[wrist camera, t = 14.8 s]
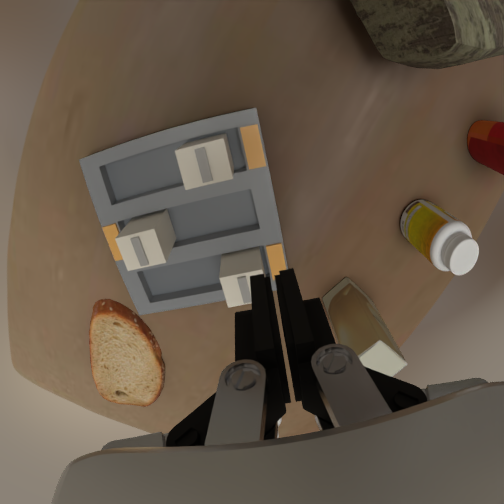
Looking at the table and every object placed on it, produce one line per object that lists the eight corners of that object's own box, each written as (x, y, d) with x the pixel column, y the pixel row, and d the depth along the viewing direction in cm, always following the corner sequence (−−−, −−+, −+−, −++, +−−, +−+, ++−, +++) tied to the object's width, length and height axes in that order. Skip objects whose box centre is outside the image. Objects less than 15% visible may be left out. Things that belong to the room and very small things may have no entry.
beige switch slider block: (185, 142, 29) (173, 151, 24) (226, 132, 29) (223, 138, 23) (194, 175, 30) (184, 191, 25) (234, 166, 30) (233, 179, 25)
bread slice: (110, 287, 37) (100, 304, 34) (205, 368, 44) (203, 388, 41) (51, 344, 42) (42, 359, 38) (133, 406, 48) (129, 422, 45)
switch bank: (90, 155, 30) (77, 160, 27) (254, 107, 29) (256, 107, 26) (144, 302, 38) (138, 316, 35) (287, 274, 37) (291, 288, 34)
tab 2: (221, 251, 34) (219, 279, 29) (258, 244, 34) (262, 270, 28) (229, 278, 35) (228, 309, 30) (264, 271, 35) (269, 301, 30)
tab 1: (132, 217, 32) (113, 240, 27) (167, 208, 32) (153, 230, 26) (142, 246, 33) (127, 272, 28) (176, 238, 33) (165, 264, 28)
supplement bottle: (396, 243, 36) (438, 287, 27) (399, 199, 33) (448, 234, 24) (433, 238, 36) (478, 278, 27) (437, 196, 33) (489, 228, 24)
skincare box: (373, 301, 39) (410, 365, 28) (349, 321, 41) (378, 389, 30) (345, 273, 37) (381, 339, 26) (319, 297, 39) (345, 367, 28)
